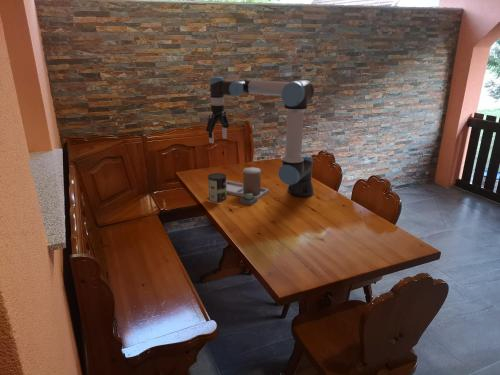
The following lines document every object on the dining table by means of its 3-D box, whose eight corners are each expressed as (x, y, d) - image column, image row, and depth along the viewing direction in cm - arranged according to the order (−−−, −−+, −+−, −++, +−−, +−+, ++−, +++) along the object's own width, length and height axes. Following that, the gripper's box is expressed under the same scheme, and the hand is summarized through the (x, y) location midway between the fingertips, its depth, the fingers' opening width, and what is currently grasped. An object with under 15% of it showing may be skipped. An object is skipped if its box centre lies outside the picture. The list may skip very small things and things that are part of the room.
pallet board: (269, 193, 217) (269, 189, 216) (256, 201, 205) (256, 197, 204) (228, 184, 230) (227, 180, 229) (214, 191, 218) (214, 187, 217)
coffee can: (227, 196, 212) (227, 173, 207) (226, 203, 202) (225, 179, 197) (209, 195, 212) (208, 172, 207) (207, 203, 203) (206, 178, 198)
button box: (257, 202, 203) (257, 197, 202) (251, 207, 198) (251, 201, 197) (246, 200, 207) (246, 195, 206) (240, 204, 201) (240, 199, 200)
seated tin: (263, 192, 216) (264, 169, 211) (255, 197, 207) (255, 174, 202) (248, 188, 220) (248, 166, 215) (239, 194, 212) (239, 171, 207)
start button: (253, 198, 202) (253, 193, 201) (250, 201, 199) (250, 196, 198) (247, 197, 204) (247, 192, 203) (243, 199, 201) (243, 194, 200)
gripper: (224, 101, 225) (224, 135, 232) (198, 106, 204) (200, 144, 212) (234, 102, 221) (234, 137, 229) (209, 108, 201) (211, 145, 208)
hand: (218, 140), depth 220 cm, fingers open, 13 cm apart
